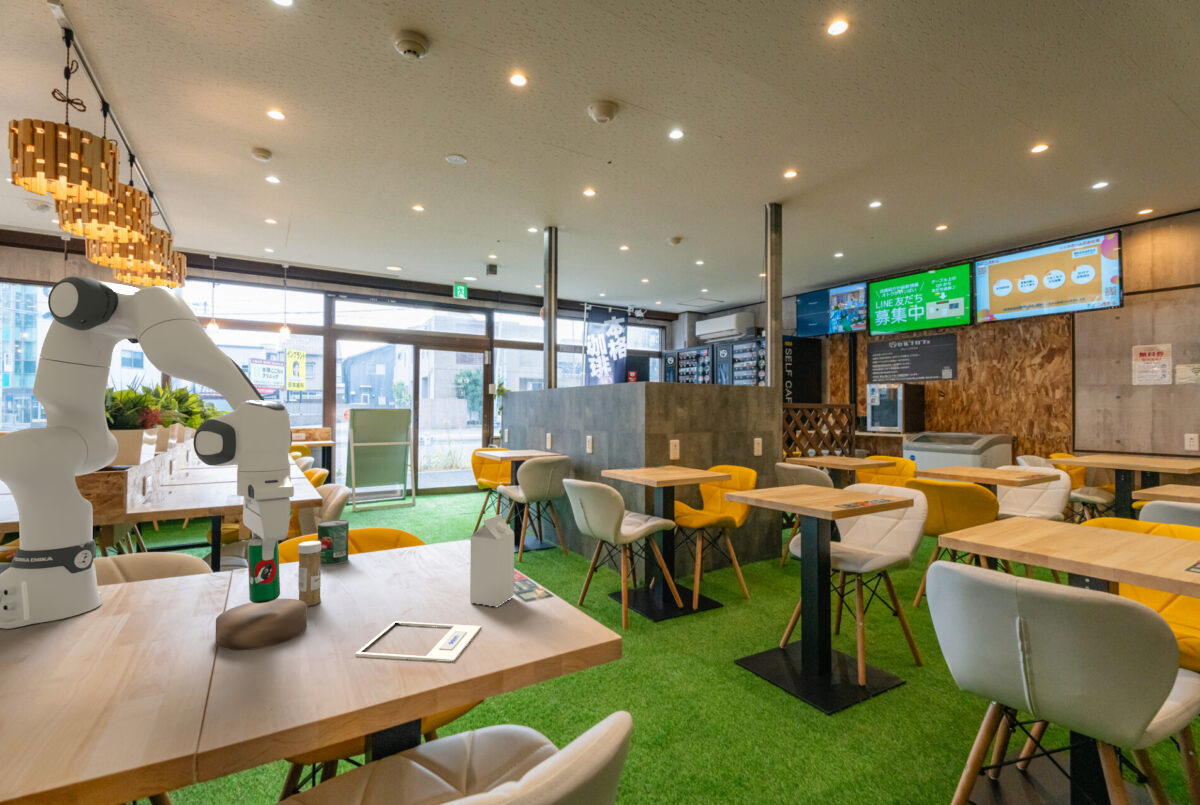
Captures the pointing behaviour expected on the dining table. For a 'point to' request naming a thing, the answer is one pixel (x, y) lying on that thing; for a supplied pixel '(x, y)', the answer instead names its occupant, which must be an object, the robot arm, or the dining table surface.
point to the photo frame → (443, 650)
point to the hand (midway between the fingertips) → (263, 555)
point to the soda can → (262, 573)
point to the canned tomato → (333, 541)
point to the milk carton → (492, 563)
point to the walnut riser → (261, 624)
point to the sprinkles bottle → (309, 572)
